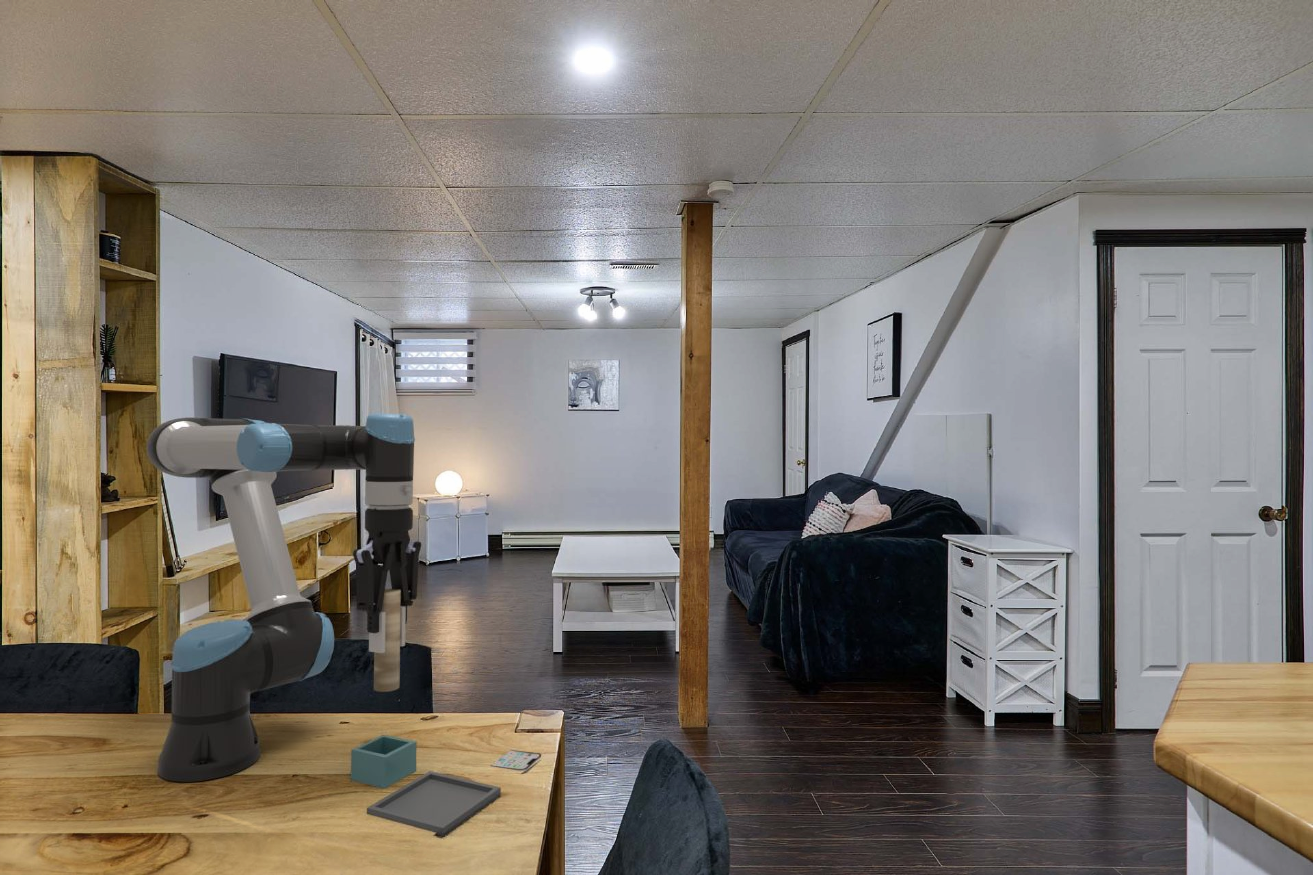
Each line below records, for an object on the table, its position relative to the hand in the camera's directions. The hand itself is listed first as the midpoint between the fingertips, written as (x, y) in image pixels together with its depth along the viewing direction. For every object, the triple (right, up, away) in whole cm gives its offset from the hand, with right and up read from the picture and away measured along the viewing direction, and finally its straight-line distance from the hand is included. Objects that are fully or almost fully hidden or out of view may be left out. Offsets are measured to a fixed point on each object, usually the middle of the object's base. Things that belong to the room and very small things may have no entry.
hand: (387, 648), depth 126 cm
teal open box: (-1, -22, 0) cm, 22 cm away
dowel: (0, -7, 0) cm, 7 cm away
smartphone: (+16, -23, +8) cm, 29 cm away
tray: (+11, -22, -9) cm, 26 cm away
